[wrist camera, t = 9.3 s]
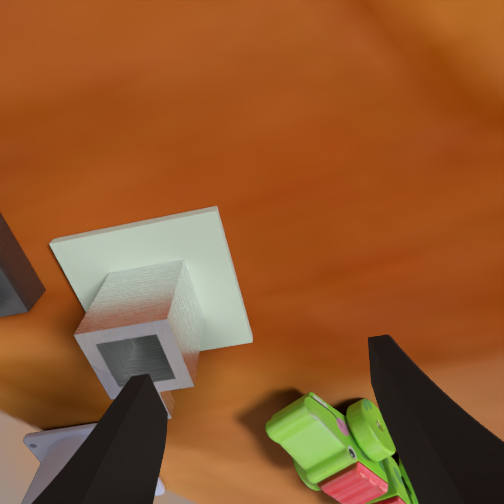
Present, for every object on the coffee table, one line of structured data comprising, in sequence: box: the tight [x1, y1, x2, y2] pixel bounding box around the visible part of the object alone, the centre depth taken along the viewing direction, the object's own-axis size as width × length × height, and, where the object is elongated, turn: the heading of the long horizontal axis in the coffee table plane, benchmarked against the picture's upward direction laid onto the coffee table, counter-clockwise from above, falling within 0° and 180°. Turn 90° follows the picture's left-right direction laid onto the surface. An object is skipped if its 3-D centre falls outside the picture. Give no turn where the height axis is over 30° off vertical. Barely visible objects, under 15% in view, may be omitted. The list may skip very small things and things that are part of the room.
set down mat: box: [49, 206, 253, 351], centre depth 22 cm, size 9×9×1 cm
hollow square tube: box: [74, 259, 204, 419], centre depth 20 cm, size 6×4×5 cm
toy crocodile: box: [265, 392, 419, 504], centre depth 27 cm, size 20×7×6 cm, turn 40°
